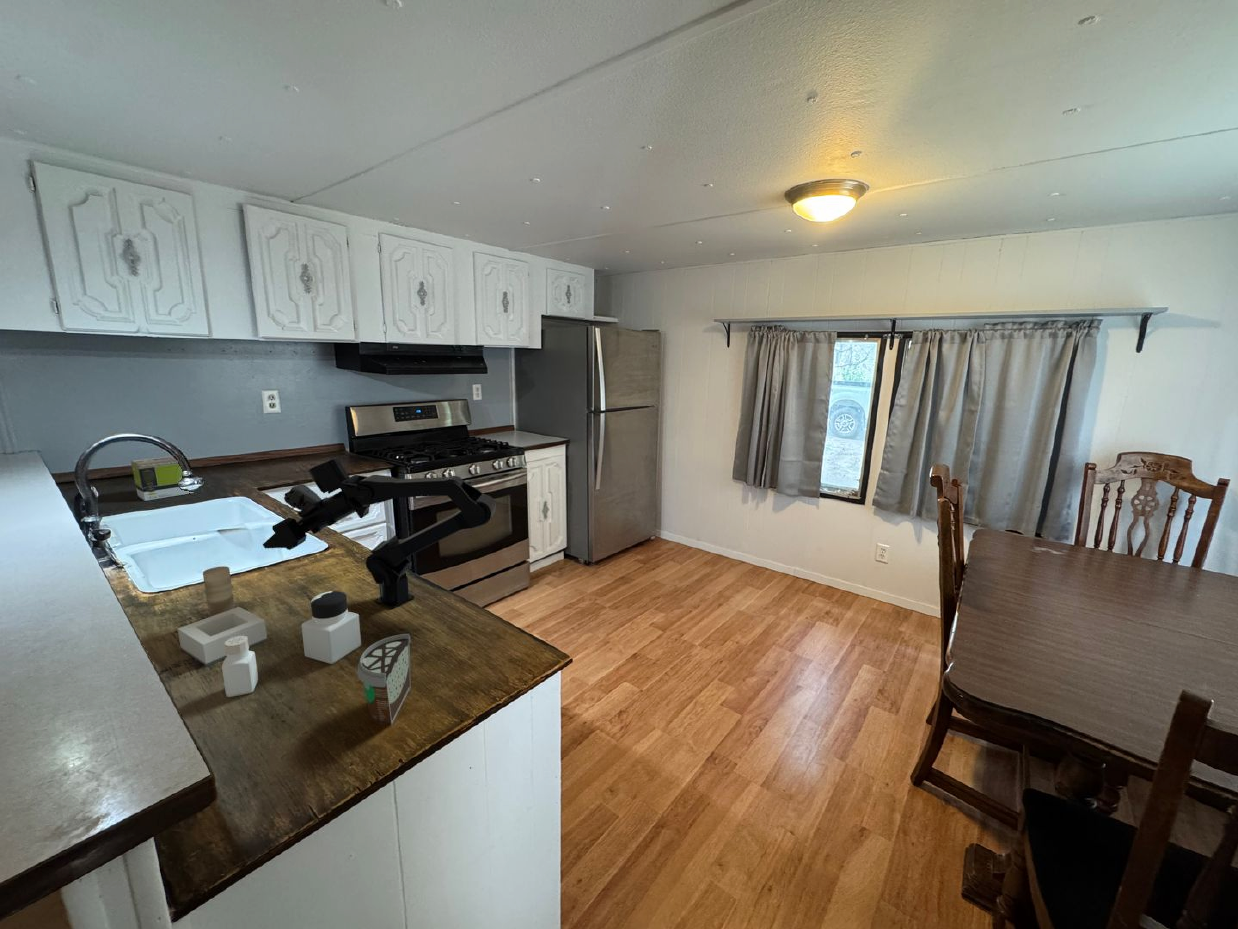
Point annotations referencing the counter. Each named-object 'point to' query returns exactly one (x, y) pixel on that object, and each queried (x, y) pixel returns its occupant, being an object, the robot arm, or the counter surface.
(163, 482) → the tea box
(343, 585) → the counter surface
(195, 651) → the socket block
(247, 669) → the pepper shaker
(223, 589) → the oak plug peg
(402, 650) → the food container
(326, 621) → the medicine bottle
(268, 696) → the counter surface
